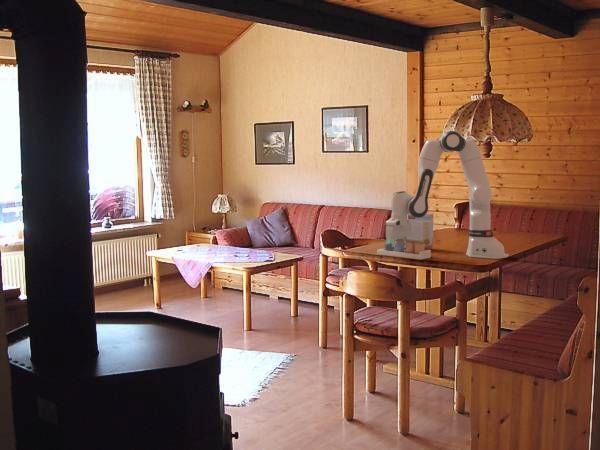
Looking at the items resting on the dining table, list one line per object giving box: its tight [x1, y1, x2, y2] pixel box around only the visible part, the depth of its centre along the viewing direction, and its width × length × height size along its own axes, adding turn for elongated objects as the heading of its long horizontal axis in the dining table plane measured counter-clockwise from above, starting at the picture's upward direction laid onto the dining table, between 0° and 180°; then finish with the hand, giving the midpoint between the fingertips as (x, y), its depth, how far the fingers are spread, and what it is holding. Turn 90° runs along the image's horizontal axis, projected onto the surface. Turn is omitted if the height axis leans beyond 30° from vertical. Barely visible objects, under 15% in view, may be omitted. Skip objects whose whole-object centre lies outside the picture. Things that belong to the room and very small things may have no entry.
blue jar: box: [395, 239, 405, 253], centre depth 386 cm, size 5×5×9 cm
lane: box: [376, 248, 432, 260], centre depth 384 cm, size 29×9×4 cm, turn 47°
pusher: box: [384, 243, 395, 251], centre depth 392 cm, size 2×11×6 cm, turn 137°
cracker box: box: [407, 212, 434, 251], centre depth 409 cm, size 14×6×21 cm, turn 70°
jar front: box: [414, 241, 425, 254], centre depth 377 cm, size 5×5×9 cm
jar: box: [405, 239, 416, 254], centre depth 381 cm, size 5×5×9 cm
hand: (399, 246), depth 386 cm, fingers open, 8 cm apart
